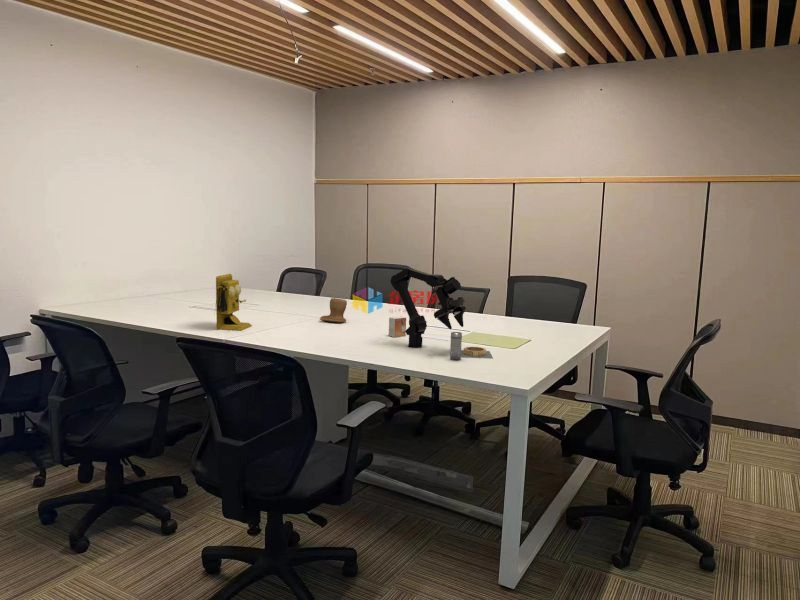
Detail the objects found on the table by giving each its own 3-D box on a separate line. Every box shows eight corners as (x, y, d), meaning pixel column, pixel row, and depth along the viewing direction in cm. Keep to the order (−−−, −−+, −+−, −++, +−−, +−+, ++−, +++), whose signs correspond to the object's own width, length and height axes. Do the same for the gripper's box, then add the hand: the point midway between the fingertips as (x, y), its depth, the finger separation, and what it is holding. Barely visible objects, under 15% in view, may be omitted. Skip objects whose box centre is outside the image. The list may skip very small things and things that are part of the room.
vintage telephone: (234, 334, 322) (233, 279, 318) (209, 332, 324) (209, 277, 320) (256, 324, 353) (256, 273, 349) (234, 322, 355) (234, 272, 351)
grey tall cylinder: (450, 361, 273) (451, 333, 271) (449, 359, 278) (450, 331, 276) (461, 362, 273) (462, 334, 271) (460, 359, 278) (461, 332, 276)
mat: (459, 358, 279) (459, 357, 279) (457, 351, 295) (457, 349, 295) (493, 359, 279) (493, 358, 279) (489, 352, 295) (489, 351, 295)
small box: (394, 337, 324) (394, 318, 323) (388, 335, 329) (388, 317, 327) (406, 336, 329) (406, 317, 327) (400, 334, 333) (400, 316, 332)
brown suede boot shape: (350, 321, 370) (350, 297, 368) (341, 324, 359) (341, 299, 357) (328, 319, 376) (329, 295, 374) (319, 322, 365) (319, 298, 363)
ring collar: (464, 356, 282) (464, 351, 282) (463, 351, 292) (463, 346, 292) (486, 356, 282) (486, 351, 281) (484, 352, 292) (484, 347, 292)
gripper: (443, 292, 276) (456, 323, 272) (467, 289, 290) (480, 318, 286) (427, 303, 283) (440, 332, 280) (451, 299, 297) (464, 328, 293)
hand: (456, 327), depth 284 cm, fingers open, 9 cm apart
